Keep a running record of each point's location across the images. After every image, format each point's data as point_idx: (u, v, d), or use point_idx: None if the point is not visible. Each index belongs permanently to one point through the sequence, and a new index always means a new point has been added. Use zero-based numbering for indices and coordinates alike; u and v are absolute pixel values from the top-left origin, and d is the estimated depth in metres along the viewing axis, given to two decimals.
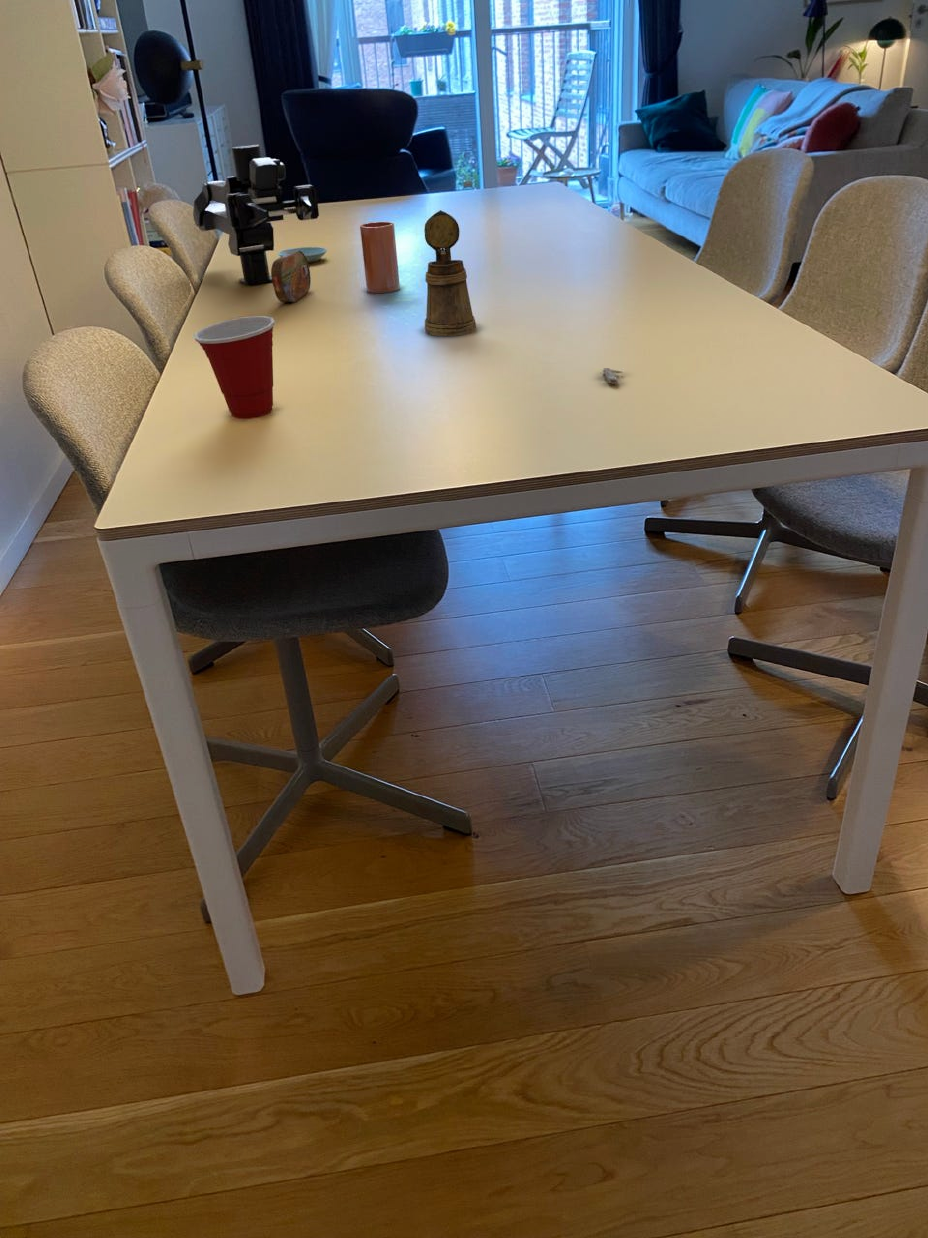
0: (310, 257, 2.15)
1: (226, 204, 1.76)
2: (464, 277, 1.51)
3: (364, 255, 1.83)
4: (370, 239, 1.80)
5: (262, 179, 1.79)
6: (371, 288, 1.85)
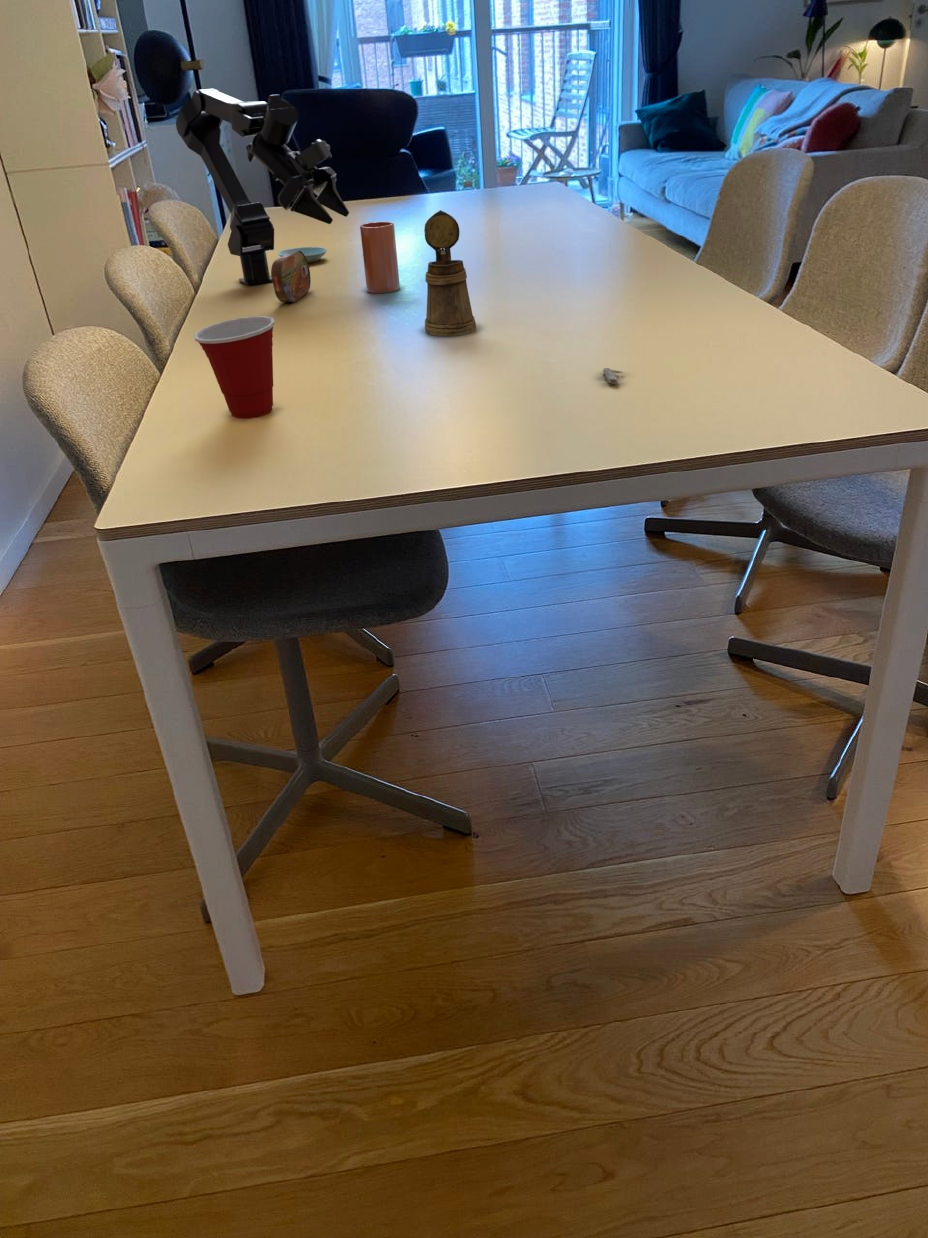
0: (310, 257, 2.15)
1: (292, 187, 1.72)
2: (464, 277, 1.51)
3: (364, 255, 1.83)
4: (370, 239, 1.80)
5: (315, 163, 1.77)
6: (371, 288, 1.85)
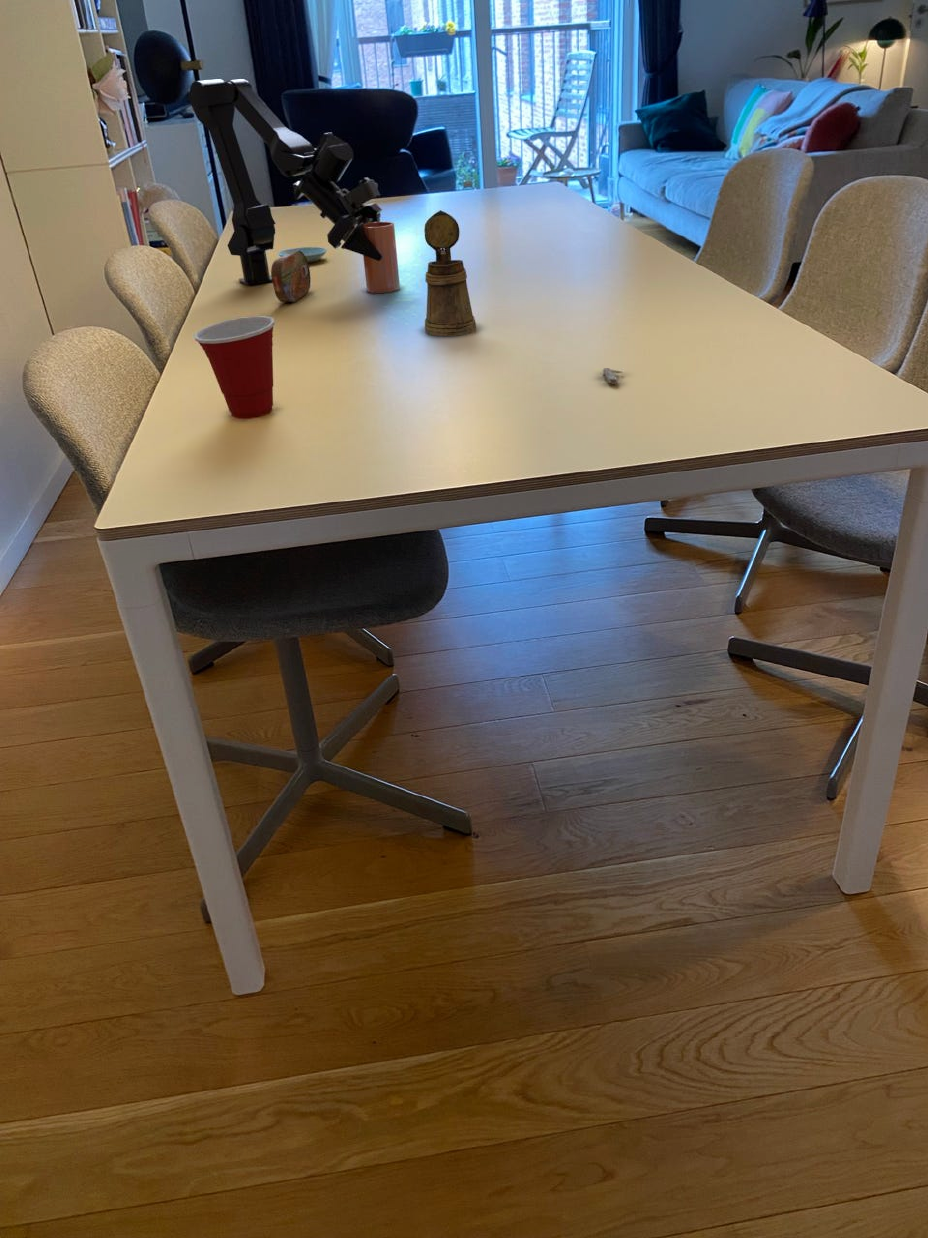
0: (310, 257, 2.15)
1: (342, 227, 1.74)
2: (464, 277, 1.51)
3: None
4: (370, 239, 1.80)
5: None
6: (371, 288, 1.85)
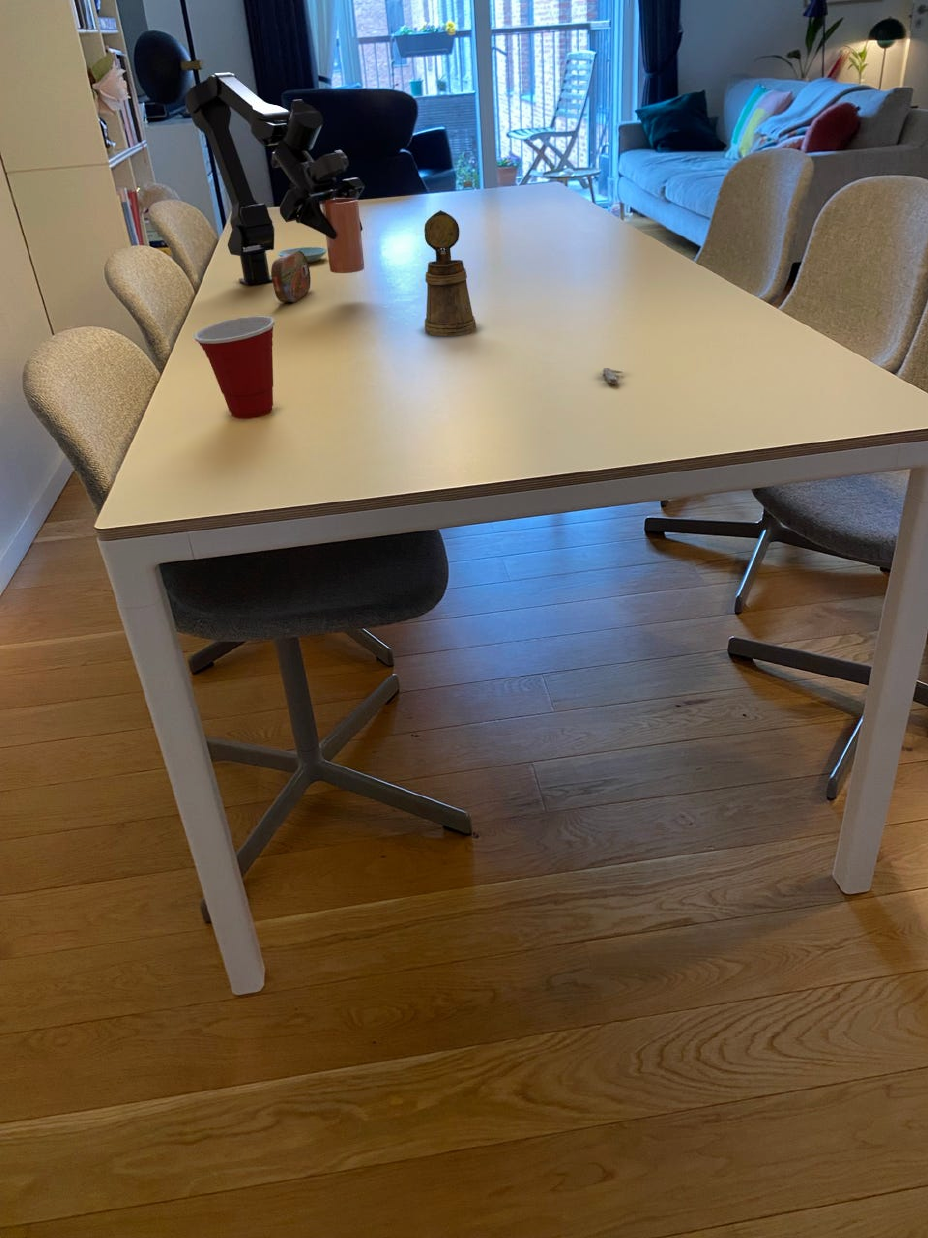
0: (310, 257, 2.15)
1: (289, 200, 1.68)
2: (464, 277, 1.51)
3: None
4: (326, 215, 1.72)
5: (326, 175, 1.71)
6: (330, 267, 1.78)
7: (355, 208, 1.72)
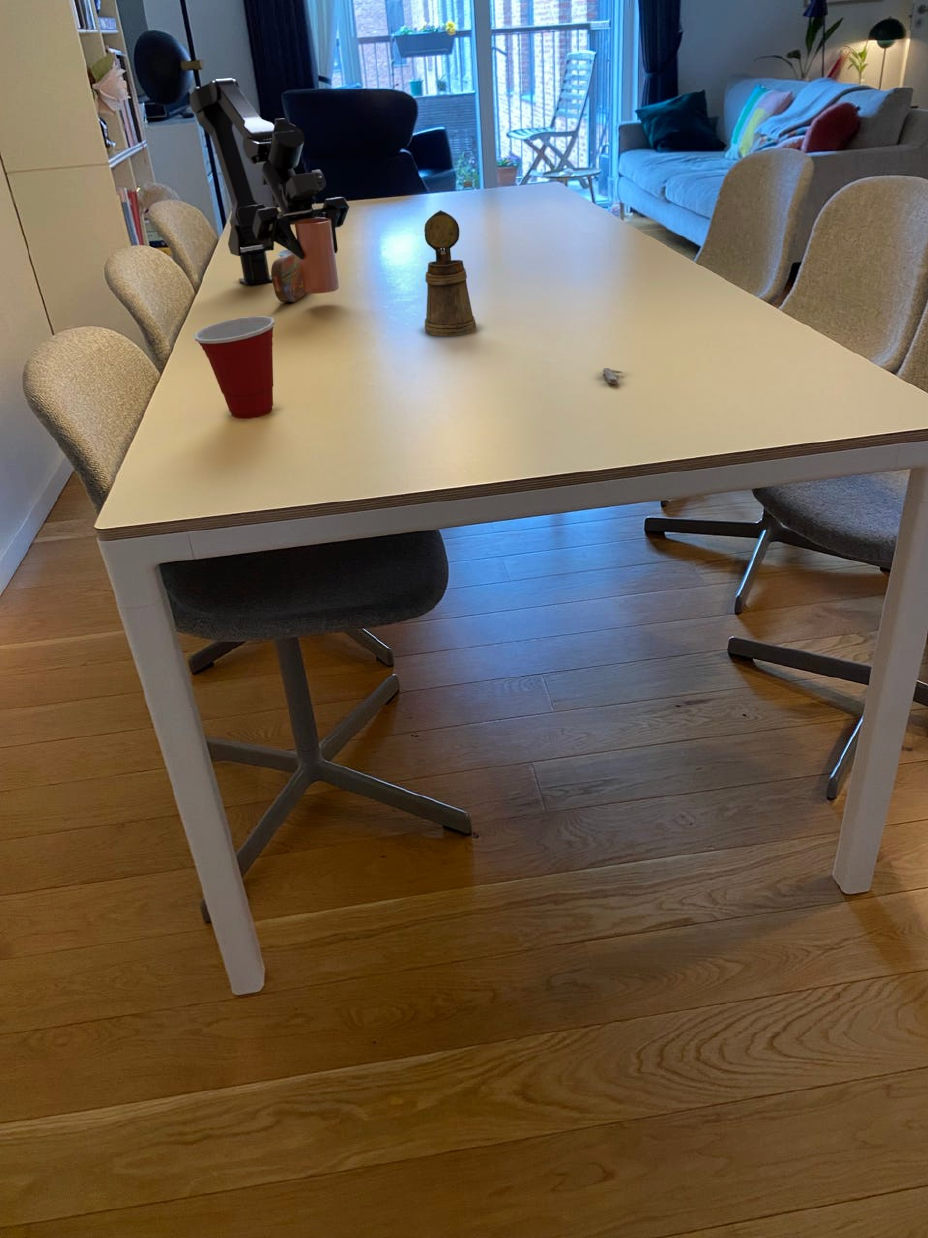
0: None
1: (257, 219, 1.69)
2: (464, 277, 1.51)
3: None
4: (296, 235, 1.71)
5: (299, 195, 1.70)
6: (303, 286, 1.77)
7: (324, 229, 1.70)
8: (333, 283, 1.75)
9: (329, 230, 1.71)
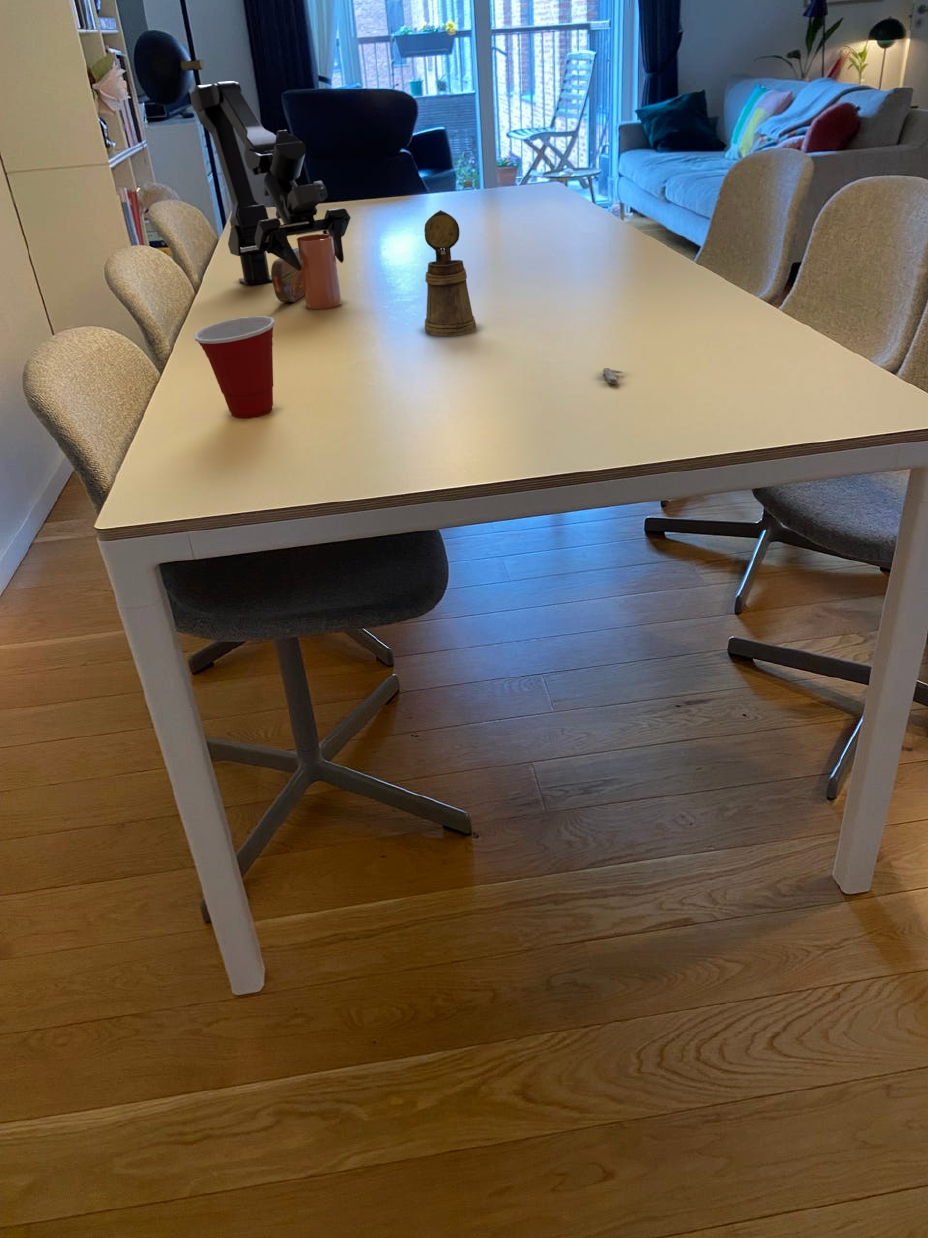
0: None
1: (259, 230, 1.70)
2: (464, 277, 1.51)
3: None
4: (299, 252, 1.73)
5: (301, 206, 1.71)
6: (306, 302, 1.78)
7: (326, 246, 1.71)
8: (335, 299, 1.77)
9: (331, 246, 1.72)
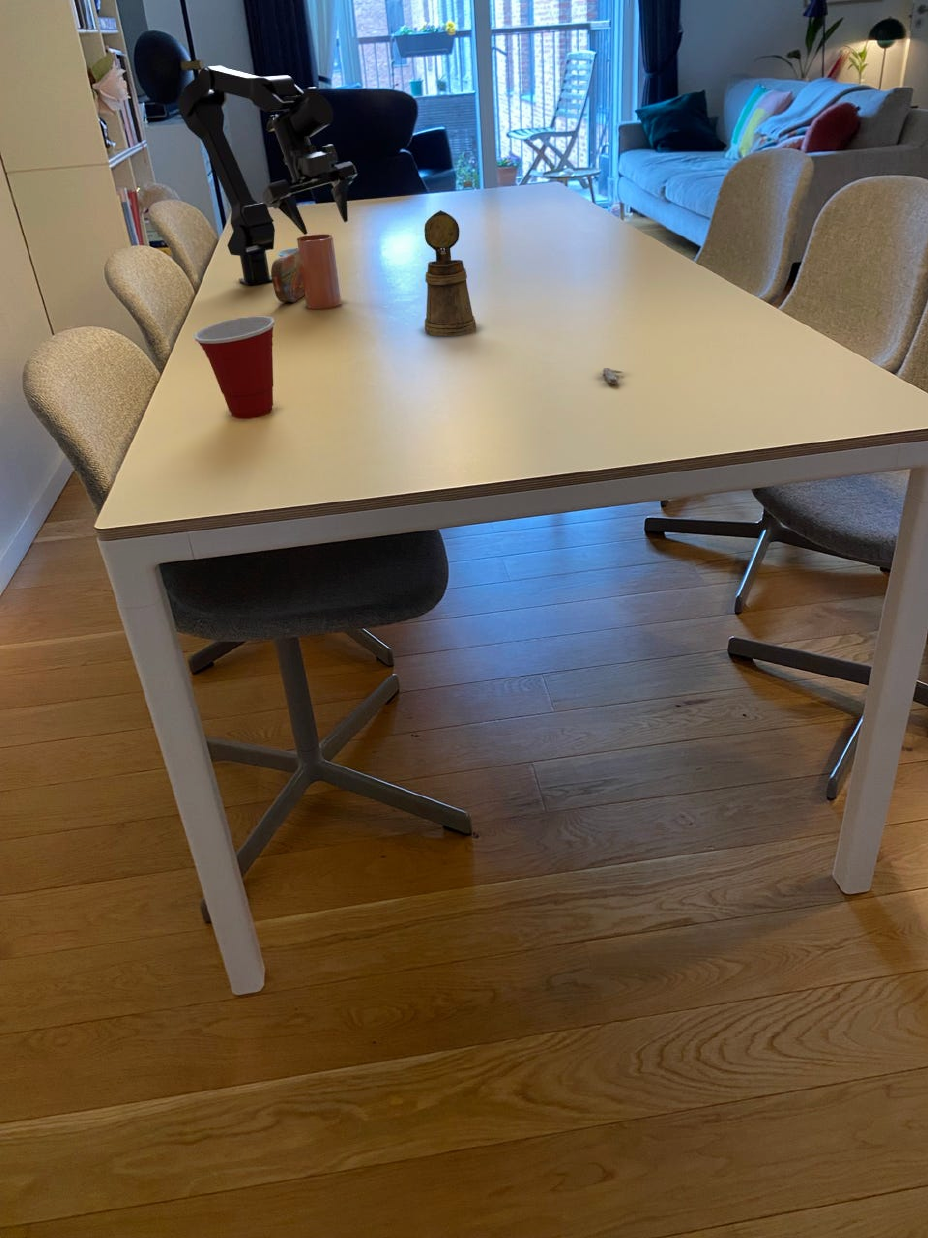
0: None
1: (269, 194, 1.75)
2: (464, 277, 1.51)
3: None
4: (299, 252, 1.73)
5: None
6: (306, 302, 1.78)
7: (326, 246, 1.71)
8: (335, 299, 1.77)
9: (331, 246, 1.72)
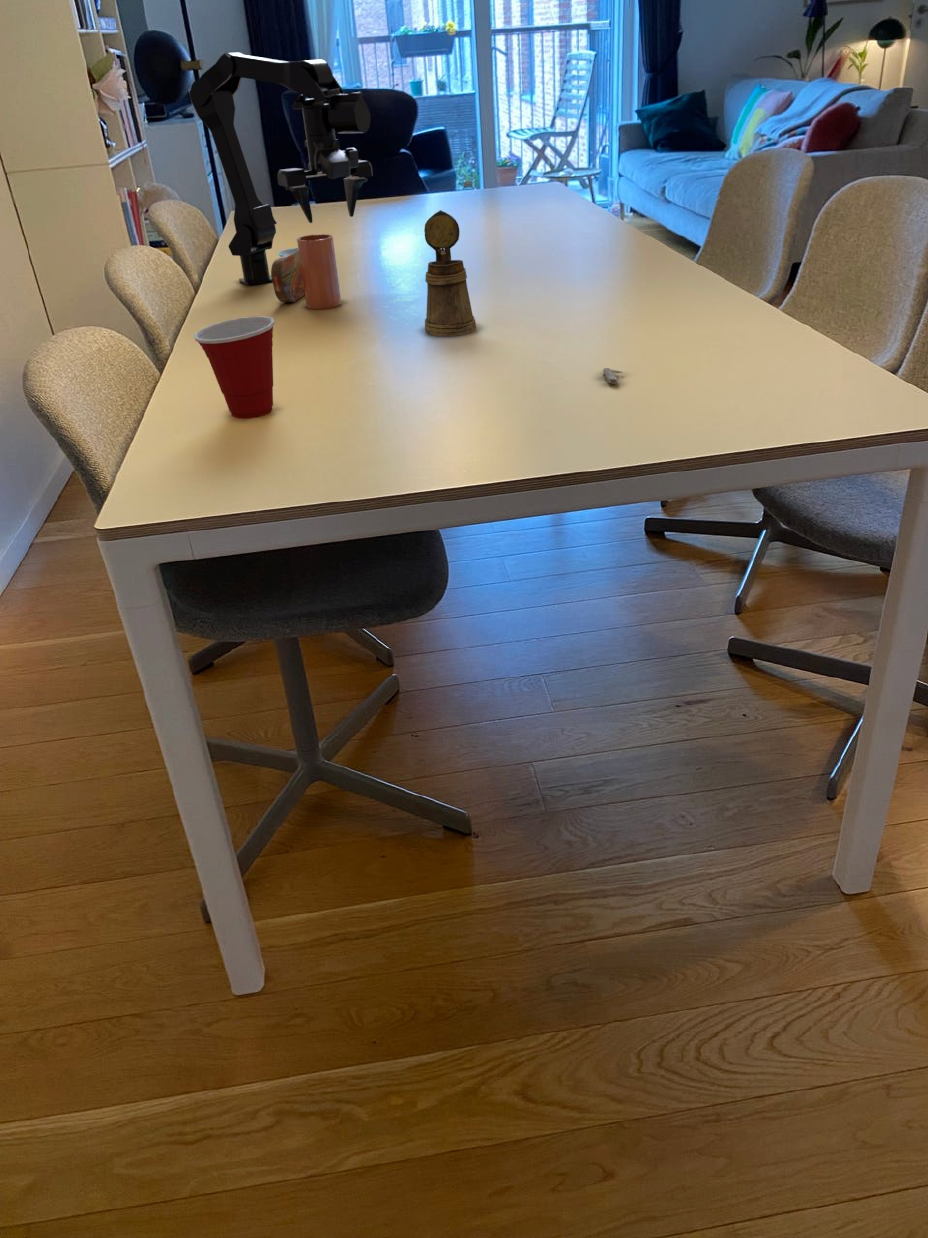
0: None
1: (284, 179, 1.78)
2: (464, 277, 1.51)
3: None
4: (299, 252, 1.73)
5: None
6: (306, 302, 1.78)
7: (326, 246, 1.71)
8: (335, 299, 1.77)
9: (331, 246, 1.72)
